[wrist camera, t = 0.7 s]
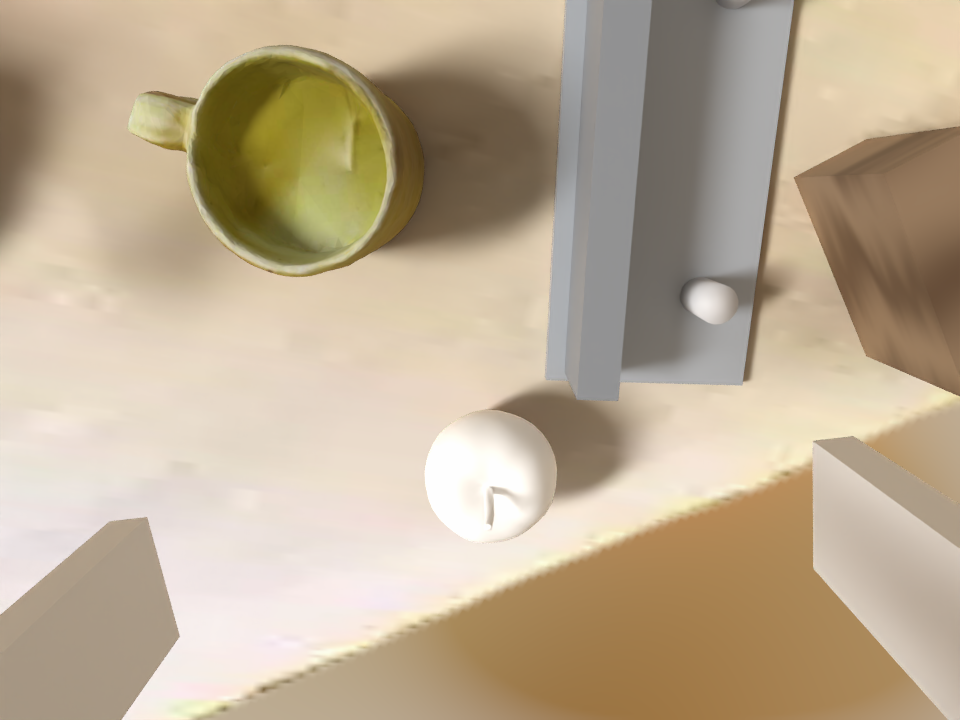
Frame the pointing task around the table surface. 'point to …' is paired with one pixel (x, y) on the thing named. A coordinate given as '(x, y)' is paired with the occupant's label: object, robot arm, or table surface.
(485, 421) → the plain white apple
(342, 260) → the mug
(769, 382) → the table surface
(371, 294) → the table surface
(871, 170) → the picture block
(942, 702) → the robot arm
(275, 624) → the table surface
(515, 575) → the table surface
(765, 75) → the ledge
